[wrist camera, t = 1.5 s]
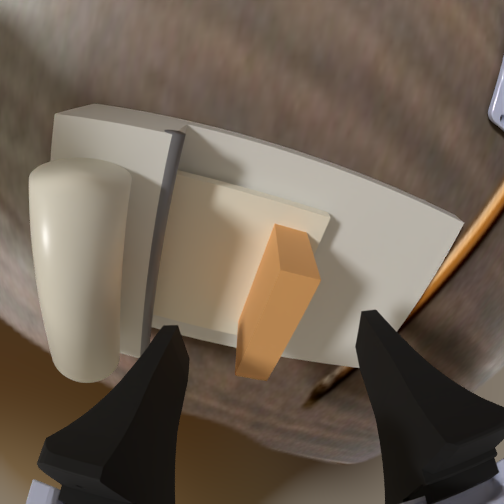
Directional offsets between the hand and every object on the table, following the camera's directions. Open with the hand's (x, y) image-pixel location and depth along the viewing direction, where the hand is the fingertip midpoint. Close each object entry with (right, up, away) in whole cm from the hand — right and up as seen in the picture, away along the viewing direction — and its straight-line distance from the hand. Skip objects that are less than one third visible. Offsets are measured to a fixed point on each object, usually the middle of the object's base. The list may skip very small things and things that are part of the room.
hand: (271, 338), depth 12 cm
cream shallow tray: (-4, +3, +3) cm, 6 cm away
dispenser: (0, +3, +5) cm, 6 cm away
